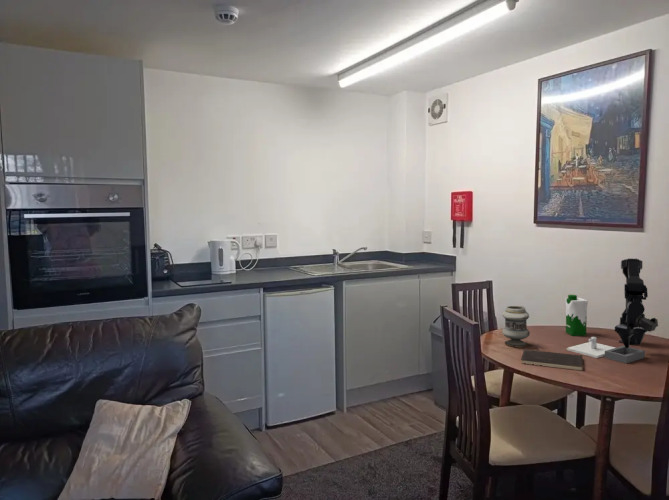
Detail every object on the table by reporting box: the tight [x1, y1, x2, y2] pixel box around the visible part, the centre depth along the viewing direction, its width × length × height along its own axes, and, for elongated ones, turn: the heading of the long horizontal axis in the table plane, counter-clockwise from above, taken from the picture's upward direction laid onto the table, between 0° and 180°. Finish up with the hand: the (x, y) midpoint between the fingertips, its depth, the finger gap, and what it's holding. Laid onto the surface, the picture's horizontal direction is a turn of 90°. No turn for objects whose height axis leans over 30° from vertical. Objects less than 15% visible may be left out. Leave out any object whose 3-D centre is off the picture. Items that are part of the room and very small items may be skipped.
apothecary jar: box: [502, 305, 531, 348], centre depth 223 cm, size 12×12×18 cm
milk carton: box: [565, 294, 589, 337], centre depth 238 cm, size 9×9×20 cm
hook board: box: [566, 336, 616, 359], centre depth 211 cm, size 18×14×6 cm
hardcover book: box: [520, 349, 584, 371], centre depth 198 cm, size 16×23×2 cm
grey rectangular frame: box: [604, 345, 646, 364], centre depth 200 cm, size 14×9×3 cm, turn 119°
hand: (633, 346), depth 203 cm, fingers open, 9 cm apart
